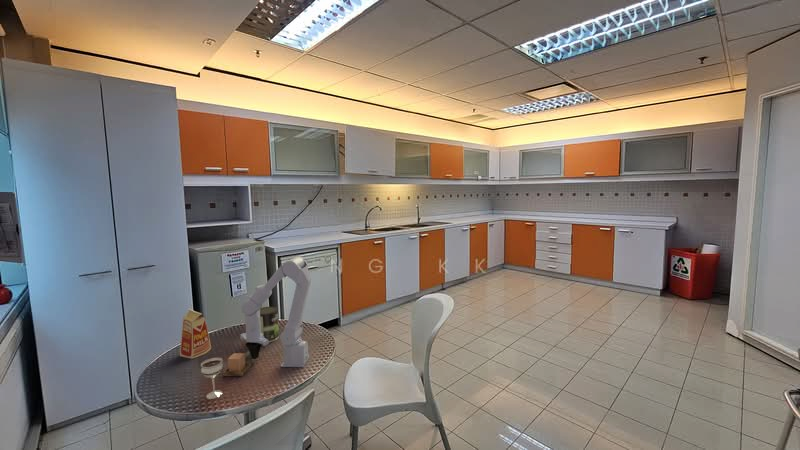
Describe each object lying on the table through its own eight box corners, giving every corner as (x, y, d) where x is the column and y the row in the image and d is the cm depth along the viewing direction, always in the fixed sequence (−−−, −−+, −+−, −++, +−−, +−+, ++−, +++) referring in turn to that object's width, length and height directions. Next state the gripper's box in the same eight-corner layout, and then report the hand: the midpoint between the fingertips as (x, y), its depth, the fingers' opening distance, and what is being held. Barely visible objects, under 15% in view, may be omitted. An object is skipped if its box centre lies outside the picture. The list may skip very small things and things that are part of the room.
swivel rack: (259, 356, 144) (258, 350, 144) (242, 376, 129) (241, 369, 129) (242, 356, 145) (241, 350, 144) (223, 376, 130) (222, 369, 129)
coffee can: (282, 333, 167) (280, 306, 165) (274, 343, 157) (272, 314, 155) (261, 333, 167) (260, 306, 165) (252, 343, 157) (250, 314, 155)
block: (245, 368, 135) (244, 353, 135) (240, 374, 131) (239, 359, 130) (234, 368, 135) (233, 353, 135) (229, 374, 131) (227, 358, 130)
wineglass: (228, 387, 122) (225, 356, 121) (220, 399, 116) (218, 366, 114) (208, 389, 122) (205, 358, 120) (199, 401, 115) (196, 368, 113)
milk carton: (179, 355, 146) (175, 311, 144) (199, 346, 155) (195, 304, 152) (194, 359, 143) (190, 314, 140) (213, 349, 151) (209, 307, 149)
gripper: (273, 326, 139) (275, 357, 141) (249, 320, 146) (251, 350, 147) (259, 333, 133) (261, 365, 135) (235, 326, 140) (237, 357, 141)
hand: (255, 358), depth 141 cm, fingers closed
